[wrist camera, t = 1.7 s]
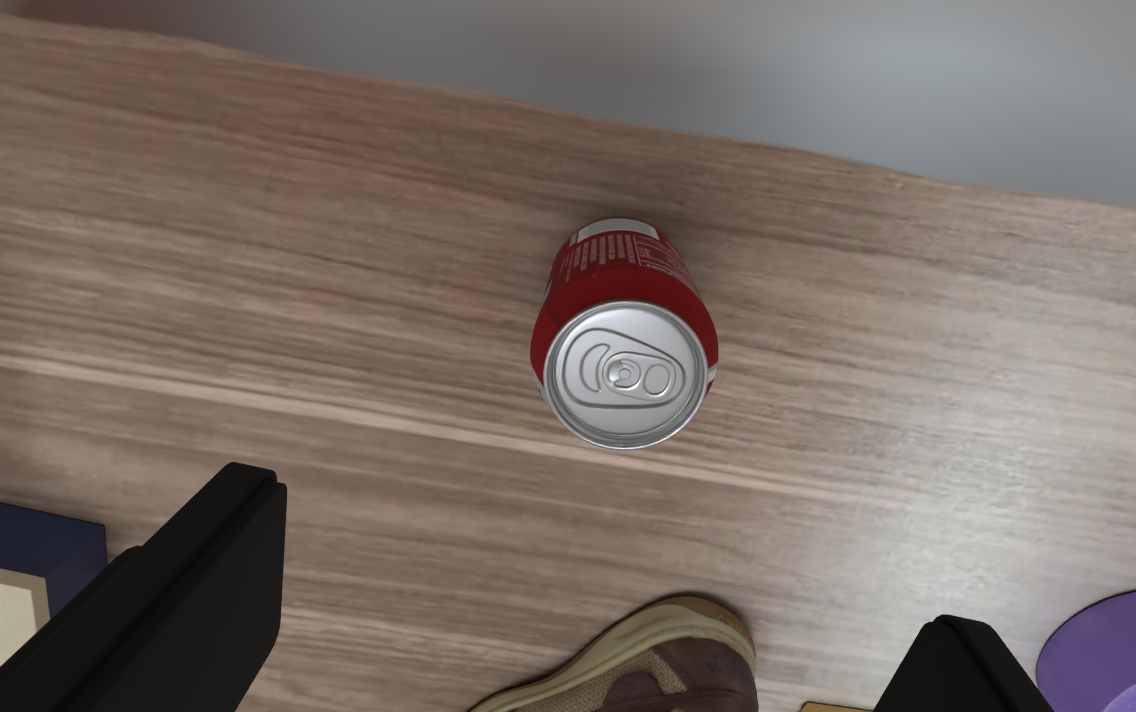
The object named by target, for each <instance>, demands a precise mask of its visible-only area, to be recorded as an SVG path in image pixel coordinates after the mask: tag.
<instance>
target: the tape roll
mask: <svg viewBox="0 0 1136 712" xmlns="http://www.w3.org/2000/svg"><path fill="white" fill-rule="evenodd" d="M1036 676H1037V684H1038V688H1039V690H1040V692H1041V694H1042V695H1043V696H1044V698H1045V699H1046V701H1047V702H1048V703H1049V705H1050V706H1051V707H1052V709H1053V710H1054V711H1055V712H1136V592H1133V593H1129V594H1125V595H1121V596H1117V597H1114V598H1111V599H1108V600H1105V601H1103V602H1101V603H1099V604H1097V605H1095V606H1092V607H1090V608H1088V609H1086V610H1085V611H1083V612H1081V613H1080V614H1078V615H1076V616H1075V617H1073V618H1072V619H1071V620H1069V621H1068V622H1067V623H1065V624H1064V625H1063V626H1062V627H1061V628H1060V629H1059V630H1058V631H1057V632H1056V633H1055V634H1054V635H1053V636H1052V637H1051V638H1050V640H1049V641H1048V642H1047V644H1046V645H1045V647H1044V649H1043V651H1042V653H1041V655H1040V657H1039V660H1038V665H1037V673H1036Z"/></svg>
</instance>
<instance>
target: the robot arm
mask: <svg viewBox="0 0 1136 712" xmlns="http://www.w3.org/2000/svg"><path fill="white" fill-rule="evenodd" d="M286 508H287V487H286V485H285V484H283V483H279V482H277V476H276V473H275V472H274V471H273V470H269V469H265V468H260V467H255V466H251V465H246V464H241V463H237V462H231V463H229V464H227V465H226V466H224V467H223V468H222V469H221V470H220V471H219V472H218V473H217V474H216V475H215V476H214V477H213V478H212V479H211V480H210V481H209V482H208V483H207V484H206V485H205V486H204V487H203V488H202V489H201V490H200V491H199V492H198V493H196V494H195V495H194V496H193V497H192V498H191V499H190V500H189V501H188V502H187V503H186V504H185V505H184V506H183V507H182V508H181V509H180V510H179V511H178V512H177V513H176V514H175V515H174V516H173V517H172V518H171V519H170V520H169V521H168V522H167V523H166V524H165V525H163V526H162V527H161V528H160V529H159V530H158V531H157V532H156V533H155V534H154V535H153V536H152V537H151V538H150V539H149V540H148V541H147V542H146V543H145V544H144V545H143V546H134V547H132V548H129V549H127V550H125V551H124V552H123V553H121V554H120V555H119V556H118V557H116V558H115V559H114V560H113V561H112V562H111V563H110V564H109V565H108V566H107V567H106V568H104V569H103V570H102V571H101V572H100V573H99V574H98V575H97V576H96V577H95V578H94V579H93V580H92V581H91V582H90V583H89V584H87V585H86V586H85V587H84V588H83V589H82V590H81V591H80V592H79V593H78V594H77V595H76V596H75V597H74V598H73V599H72V600H70V601H69V602H68V603H67V604H66V605H65V606H64V607H63V608H62V609H61V610H60V611H59V612H58V613H57V614H56V615H55V616H53V617H52V618H51V619H50V620H49V621H48V622H47V623H46V624H45V625H44V626H43V627H42V628H41V629H40V630H39V631H38V632H36V633H35V634H34V635H33V636H32V637H31V638H30V639H29V640H28V641H27V642H26V643H25V644H24V645H23V646H22V647H20V648H19V649H18V650H17V651H16V652H15V653H14V654H13V655H12V656H11V657H10V658H9V659H8V660H7V661H6V662H5V663H3V664H2V665H1V666H0V712H235V710H236V709H237V707H238V705H239V704H240V702H241V700H242V699H243V697H244V695H245V694H246V692H247V690H248V689H249V687H250V685H251V684H252V682H253V680H254V679H255V677H256V675H257V674H258V672H259V670H260V669H261V667H262V666H263V664H264V662H265V661H266V659H267V657H268V656H269V654H270V652H271V650H272V648H273V646H274V644H275V642H276V639H277V636H278V632H279V628H280V620H281V602H282V583H283V564H284V545H285V526H286ZM873 712H1055V711H1054V710H1053V709H1052V707H1051V706H1050V705H1049V703H1048V702H1047V701H1046V699H1045V698H1044V696H1043V695H1042V694H1041V692H1040V691H1039V690H1038V688H1037V687H1036V686H1035V684H1034V683H1033V682H1032V680H1031V679H1030V677H1029V676H1028V675H1027V673H1026V672H1025V671H1024V669H1023V668H1022V667H1021V665H1020V664H1019V663H1018V661H1017V660H1016V658H1015V657H1014V656H1013V654H1012V653H1011V652H1010V650H1009V649H1008V648H1007V646H1006V645H1005V644H1004V642H1003V641H1002V639H1001V638H1000V637H999V635H998V634H997V633H996V631H995V630H994V629H993V628H992V627H991V626H990V625H988V624H986V623H984V622H980V621H975V620H971V619H966V618H961V617H957V616H952V615H940V616H938V617H936V618H935V620H934V621H933V622H928V623H926V624H925V625H924V626H923V627H922V628H921V630H920V632H919V633H918V635H917V637H916V639H915V640H914V642H913V644H912V645H911V647H910V649H909V651H908V652H907V654H906V656H905V657H904V659H903V661H902V662H901V664H900V666H899V668H898V669H897V671H896V673H895V674H894V676H893V678H892V679H891V681H890V683H889V685H888V686H887V688H886V690H885V691H884V693H883V695H882V696H881V698H880V700H879V702H878V703H877V705H876V707H875V708H874V710H873Z"/></svg>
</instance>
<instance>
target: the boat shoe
mask: <svg viewBox="0 0 1136 712" xmlns="http://www.w3.org/2000/svg"><path fill="white" fill-rule="evenodd" d="M755 658H756V652H755V647H754V644H753V640H752V638H751V636H750V634H749V632H748V630H747V628H746V627H745V626H744V625H743V623H742V622H741V621H740V620H739V619H738V618H737V617H735V616H734V615H733V614H732V613H730V612H729V611H727V610H726V609H724V608H723V607H721V606H719V605H717V604H715V603H713V602H710V601H708V600H705V599H701V598H697V597H689V596H685V597H674V598H669V599H666V600H663V601H660V602H657V603H655V604H653V605H650V606H648V607H646V608H644V609H643V610H641V611H639V612H637V613H635V614H633V615H632V616H630V617H628V618H626V619H625V620H623V621H621V622H620V623H618V624H617V625H615V626H614V627H612V628H611V629H609V630H608V631H606V632H605V633H604V634H602V635H601V636H600V637H598V638H597V639H596V640H595V641H593V642H592V643H591V644H590V645H589V646H587V647H586V648H585V649H584V650H583V651H582V652H581V653H580V654H578V655H577V656H576V657H575V658H574V659H573V660H571V661H570V662H569V664H568V665H566V666H564V667H562V668H561V669H560V670H559V671H558V672H555V673H554V674H552V675H551V676H550V677H546V678H544V679H542V680H541V681H536V682H534V683H532V684H527V685H523V686H521V687H516V688H513V689H511V690H506V691H503V692H501V693H498V694H496V695H494V696H492V697H490V698H488V699H487V700H485V701H484V702H482V703H481V704H479V705H478V706H476V707H475V708H474V709H472V710H471V711H470V712H758V700H757V691H756V686H755V670H756V661H755Z"/></svg>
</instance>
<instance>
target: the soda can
mask: <svg viewBox="0 0 1136 712" xmlns="http://www.w3.org/2000/svg"><path fill="white" fill-rule="evenodd" d="M530 359H531V368H532V373H533V377H534V380H535V383H536V385H537V388H538V390H539V392H540V394H541V396H542V397H543V399H544V400H545V402H546V403H547V405H548V406H549V407H550V408H551V409H552V411H553V412H554V414H555V415H556V417H557V418H558V419H559V421H560V422H561V423H562V424H563V425H564V426H565V427H566V428H567V429H568V430H569V431H570V432H572V433H573V434H574V435H576V436H577V437H579V438H580V439H582V440H584V441H586V442H588V443H591V444H593V445H596V446H599V447H602V448H607V449H613V450H637V449H643V448H647V447H651V446H654V445H657V444H659V443H662V442H664V441H666V440H668V439H669V438H671V437H673V436H674V435H676V434H677V433H678V432H680V431H681V430H682V429H683V428H684V427H686V426H687V424H688V423H689V422H690V421H691V420H692V419H693V417H694V416H695V415H696V413H697V412H698V410H699V408H700V406H701V404H702V402H703V400H704V398H705V396H706V395H707V393H708V391H709V389H710V387H711V385H712V382H713V380H714V377H715V373H716V369H717V363H718V341H717V335H716V331H715V328H714V324H713V322H712V320H711V317H710V315H709V313H708V311H707V309H706V307H705V305H704V303H703V301H702V299H701V297H700V295H699V293H698V291H697V289H696V287H695V285H694V283H693V281H692V278H691V276H690V274H689V272H688V270H687V268H686V266H685V264H684V262H683V260H682V258H681V256H680V254H679V252H678V251H677V249H676V247H675V246H674V244H673V243H672V242H671V241H670V240H669V238H668V237H667V236H666V235H664V234H663V233H662V232H661V231H660V230H658V229H657V228H655V227H653V226H652V225H650V224H647V223H645V222H642V221H640V220H636V219H631V218H622V217H616V218H607V219H602V220H598V221H596V222H593V223H590V224H588V225H586V226H584V227H583V228H581V229H580V230H578V231H577V232H576V233H574V234H573V235H572V236H571V237H570V238H569V239H568V240H567V241H566V242H565V243H564V245H563V246H562V247H561V249H560V251H559V252H558V254H557V256H556V258H555V261H554V264H553V266H552V270H551V273H550V277H549V280H548V283H547V287H546V290H545V294H544V297H543V300H542V304H541V307H540V311H539V314H538V317H537V321H536V324H535V328H534V331H533V335H532V340H531V348H530Z"/></svg>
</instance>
